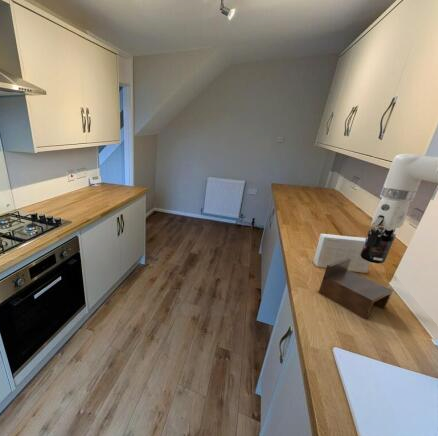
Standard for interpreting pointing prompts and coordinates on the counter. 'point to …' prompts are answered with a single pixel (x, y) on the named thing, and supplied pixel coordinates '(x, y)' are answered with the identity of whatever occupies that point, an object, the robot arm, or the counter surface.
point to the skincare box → (341, 252)
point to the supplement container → (382, 251)
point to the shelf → (353, 289)
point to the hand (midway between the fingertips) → (377, 243)
